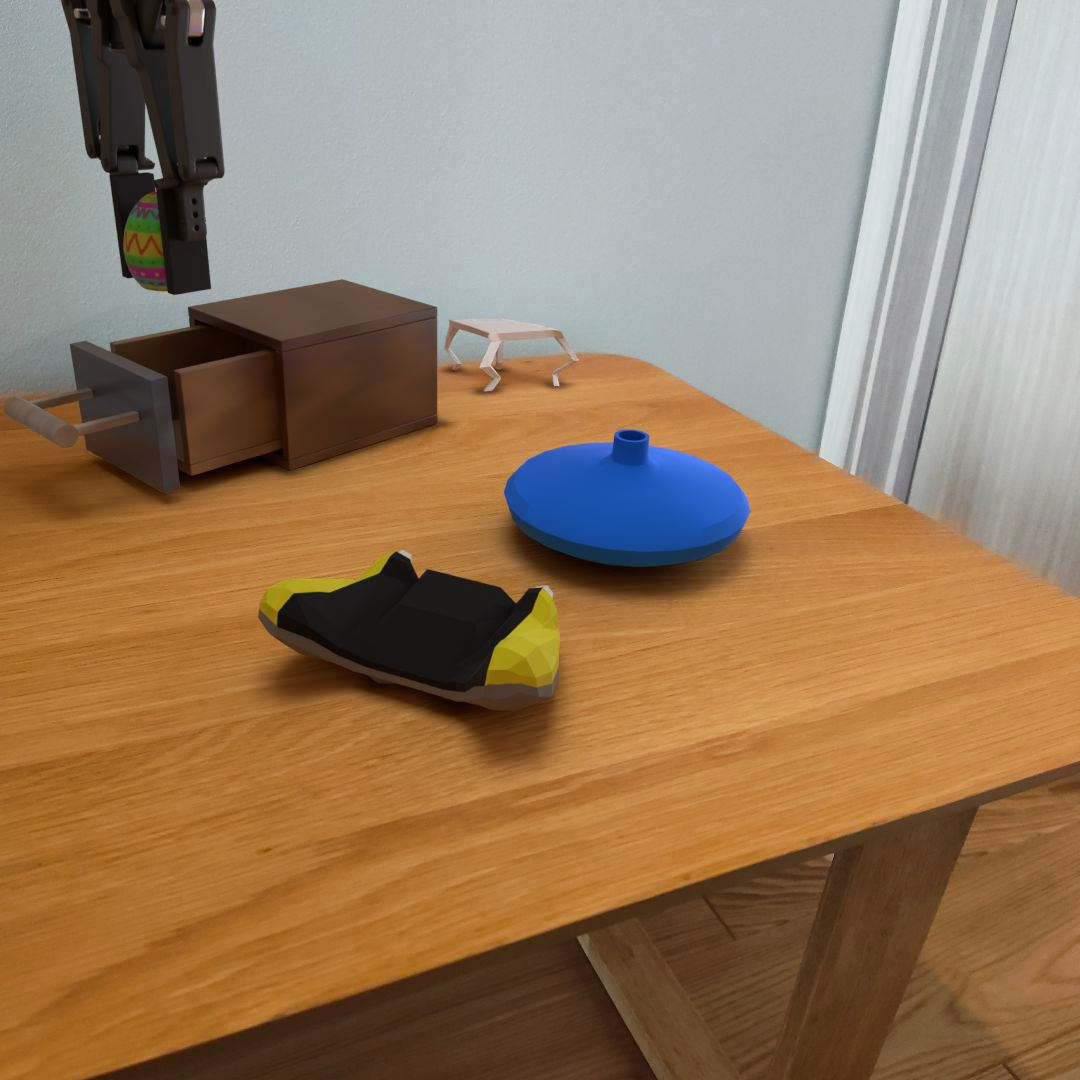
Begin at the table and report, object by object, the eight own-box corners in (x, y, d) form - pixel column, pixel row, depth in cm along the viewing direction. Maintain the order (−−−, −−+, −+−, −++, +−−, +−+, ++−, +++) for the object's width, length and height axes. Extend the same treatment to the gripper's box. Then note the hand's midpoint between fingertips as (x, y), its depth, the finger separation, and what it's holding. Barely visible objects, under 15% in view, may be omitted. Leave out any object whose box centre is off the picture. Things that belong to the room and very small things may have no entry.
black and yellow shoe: (525, 775, 47) (600, 664, 56) (529, 673, 45) (608, 572, 53) (246, 689, 52) (354, 598, 61) (237, 592, 50) (351, 511, 58)
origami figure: (445, 394, 93) (445, 339, 91) (443, 365, 100) (444, 313, 98) (580, 395, 94) (584, 341, 92) (569, 366, 102) (572, 316, 99)
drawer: (80, 519, 66) (60, 400, 62) (5, 470, 72) (-17, 359, 68) (328, 443, 79) (323, 341, 76) (246, 407, 85) (238, 311, 82)
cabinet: (289, 470, 76) (281, 340, 72) (199, 427, 83) (187, 306, 79) (437, 423, 86) (437, 306, 82) (346, 388, 93) (342, 278, 89)
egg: (139, 276, 72) (128, 184, 70) (213, 278, 73) (204, 187, 70) (119, 293, 68) (106, 196, 65) (197, 296, 68) (187, 199, 66)
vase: (473, 574, 64) (475, 465, 61) (533, 475, 78) (537, 383, 74) (737, 613, 61) (753, 502, 58) (750, 504, 75) (764, 409, 72)
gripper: (-19, -133, 62) (46, 265, 73) (141, -147, 52) (190, 320, 62) (102, -119, 67) (146, 252, 78) (270, -129, 57) (295, 300, 68)
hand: (166, 281), depth 70 cm, fingers closed on egg, 5 cm apart
